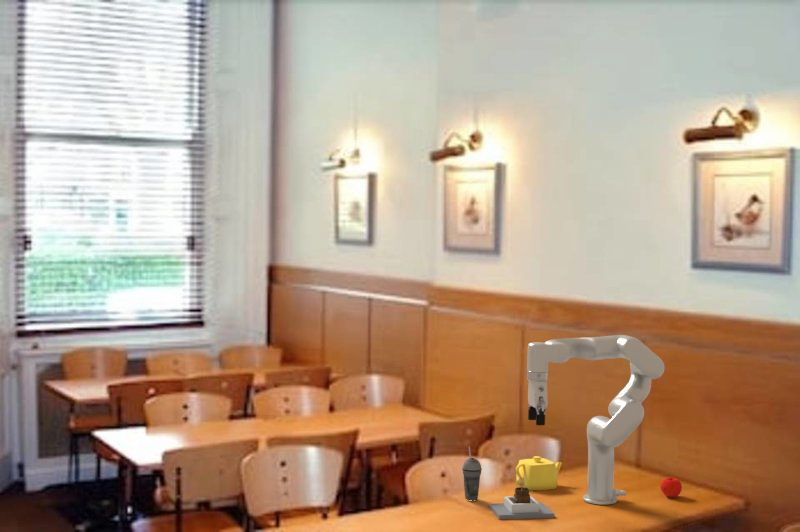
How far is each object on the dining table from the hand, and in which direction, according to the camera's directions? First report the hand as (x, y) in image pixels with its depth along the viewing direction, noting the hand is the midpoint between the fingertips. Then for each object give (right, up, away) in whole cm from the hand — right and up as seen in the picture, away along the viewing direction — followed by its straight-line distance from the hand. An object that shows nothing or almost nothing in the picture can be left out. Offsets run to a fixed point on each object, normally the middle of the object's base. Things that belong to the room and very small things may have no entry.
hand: (536, 422), depth 356 cm
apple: (+53, -31, +14) cm, 63 cm away
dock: (-7, -31, -10) cm, 33 cm away
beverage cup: (-23, -30, +6) cm, 38 cm away
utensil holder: (-7, -29, -10) cm, 32 cm away
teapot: (+5, -30, +26) cm, 40 cm away
